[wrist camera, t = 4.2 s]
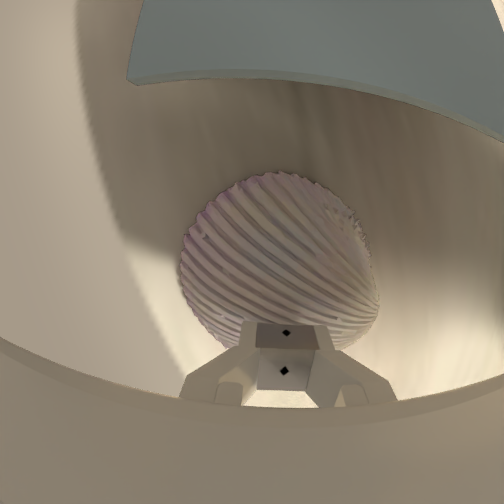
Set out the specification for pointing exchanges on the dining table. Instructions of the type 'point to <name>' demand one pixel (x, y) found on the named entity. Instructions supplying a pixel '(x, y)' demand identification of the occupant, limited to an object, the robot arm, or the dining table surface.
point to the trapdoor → (335, 49)
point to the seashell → (279, 261)
